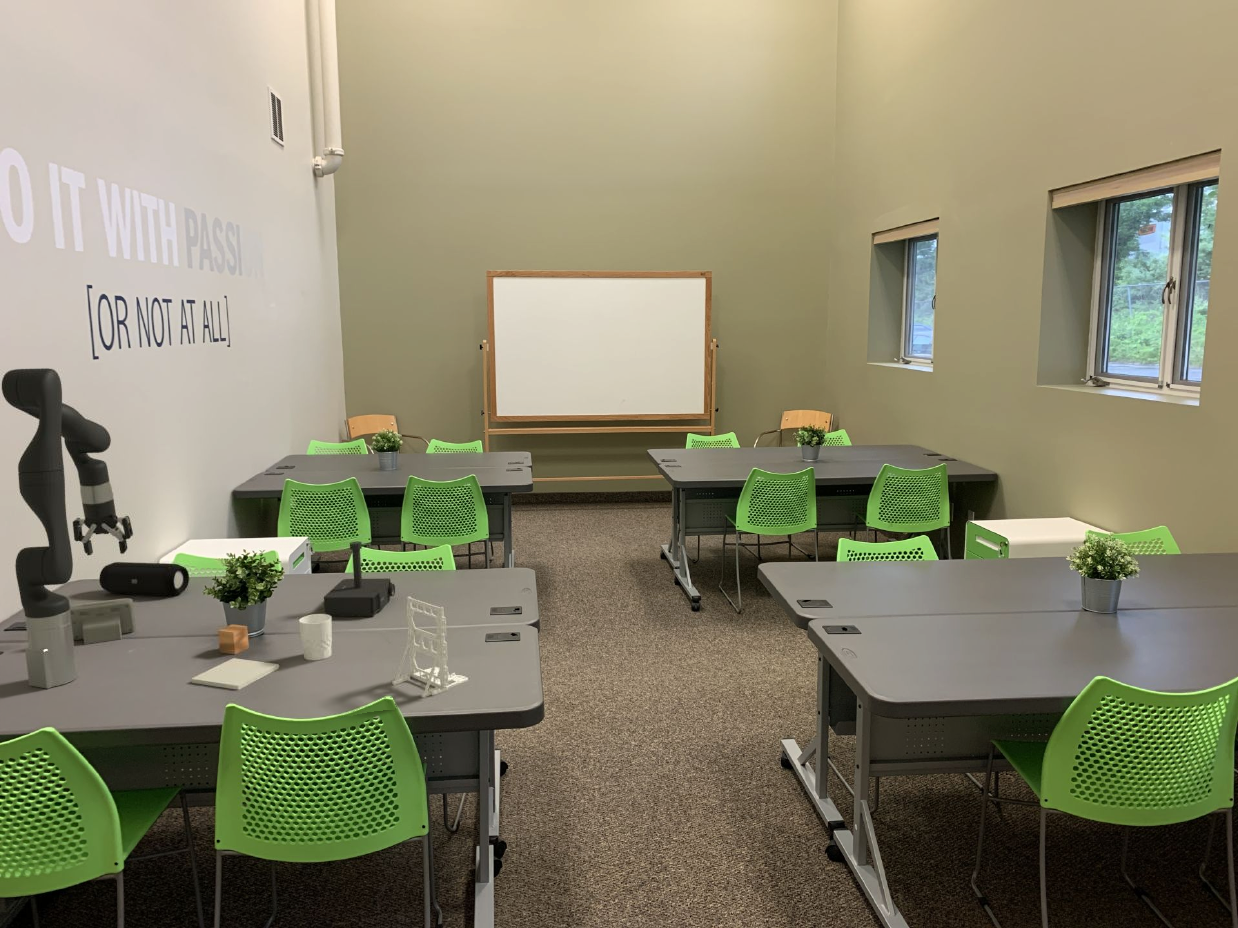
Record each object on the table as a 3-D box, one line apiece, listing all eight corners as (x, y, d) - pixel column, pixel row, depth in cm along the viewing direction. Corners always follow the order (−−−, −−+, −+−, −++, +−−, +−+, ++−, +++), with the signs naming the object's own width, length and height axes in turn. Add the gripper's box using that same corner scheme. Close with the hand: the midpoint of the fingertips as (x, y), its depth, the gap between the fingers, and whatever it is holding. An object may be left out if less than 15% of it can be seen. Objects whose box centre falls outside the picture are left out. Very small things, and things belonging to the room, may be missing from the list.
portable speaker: (99, 597, 291) (95, 566, 289) (120, 588, 301) (117, 558, 299) (173, 599, 287) (170, 568, 286) (192, 590, 297) (189, 560, 295)
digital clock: (139, 629, 260) (136, 593, 258) (131, 640, 251) (127, 603, 249) (75, 635, 256) (71, 598, 254) (64, 646, 247) (60, 608, 245)
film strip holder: (473, 680, 220) (470, 600, 217) (426, 699, 210) (421, 614, 207) (436, 666, 230) (432, 588, 226) (389, 682, 219) (384, 602, 216)
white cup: (301, 652, 240) (298, 616, 238) (332, 648, 243) (330, 612, 241) (302, 663, 233) (299, 625, 231) (334, 658, 235) (332, 621, 234)
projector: (381, 617, 268) (377, 550, 264) (323, 618, 268) (319, 551, 265) (398, 597, 286) (394, 535, 283) (344, 598, 287) (340, 535, 284)
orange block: (235, 654, 240) (233, 632, 239) (219, 652, 241) (217, 630, 240) (248, 647, 244) (247, 626, 243) (233, 645, 246) (231, 624, 245)
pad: (238, 689, 217) (238, 685, 216) (191, 682, 221) (191, 678, 221) (278, 668, 230) (278, 664, 229) (233, 661, 234) (233, 658, 234)
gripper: (63, 504, 246) (73, 560, 251) (120, 501, 248) (129, 557, 253) (74, 494, 253) (84, 549, 258) (130, 492, 255) (138, 547, 260)
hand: (106, 553), depth 255 cm, fingers open, 8 cm apart
